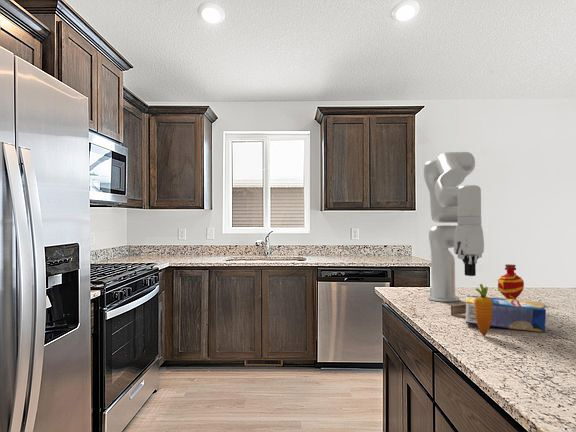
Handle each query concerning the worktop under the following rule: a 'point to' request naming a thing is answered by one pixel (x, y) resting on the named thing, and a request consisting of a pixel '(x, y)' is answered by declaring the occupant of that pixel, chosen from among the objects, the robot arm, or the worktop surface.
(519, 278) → the potion bottle
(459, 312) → the u rest
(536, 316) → the beverage box
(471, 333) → the worktop surface
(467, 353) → the worktop surface
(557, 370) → the worktop surface
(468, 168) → the robot arm
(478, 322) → the carrot
